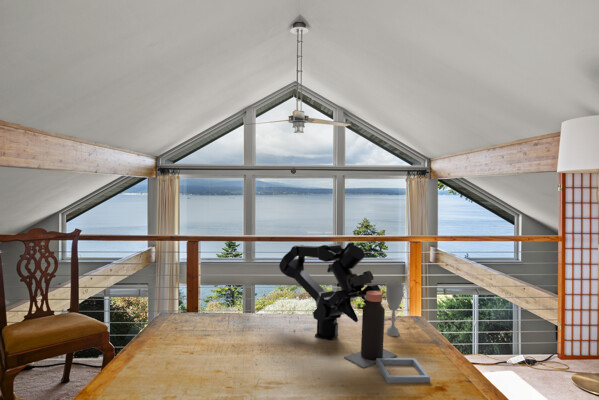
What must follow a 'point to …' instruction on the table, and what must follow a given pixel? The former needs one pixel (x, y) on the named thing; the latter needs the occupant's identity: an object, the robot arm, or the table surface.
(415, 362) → the bottle holder
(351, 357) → the mat
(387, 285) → the chalice
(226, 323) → the table surface
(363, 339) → the vinegar
